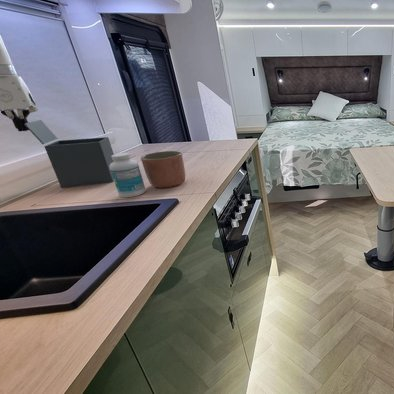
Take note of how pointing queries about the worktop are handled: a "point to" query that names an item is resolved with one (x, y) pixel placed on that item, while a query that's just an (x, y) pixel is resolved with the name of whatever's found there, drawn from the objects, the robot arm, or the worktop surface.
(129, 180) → the pill bottle
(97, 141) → the carton
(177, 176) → the planter
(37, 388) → the worktop surface
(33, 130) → the flap
